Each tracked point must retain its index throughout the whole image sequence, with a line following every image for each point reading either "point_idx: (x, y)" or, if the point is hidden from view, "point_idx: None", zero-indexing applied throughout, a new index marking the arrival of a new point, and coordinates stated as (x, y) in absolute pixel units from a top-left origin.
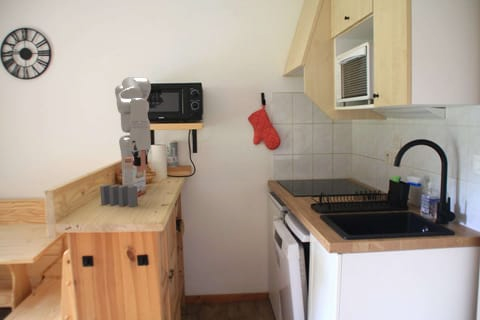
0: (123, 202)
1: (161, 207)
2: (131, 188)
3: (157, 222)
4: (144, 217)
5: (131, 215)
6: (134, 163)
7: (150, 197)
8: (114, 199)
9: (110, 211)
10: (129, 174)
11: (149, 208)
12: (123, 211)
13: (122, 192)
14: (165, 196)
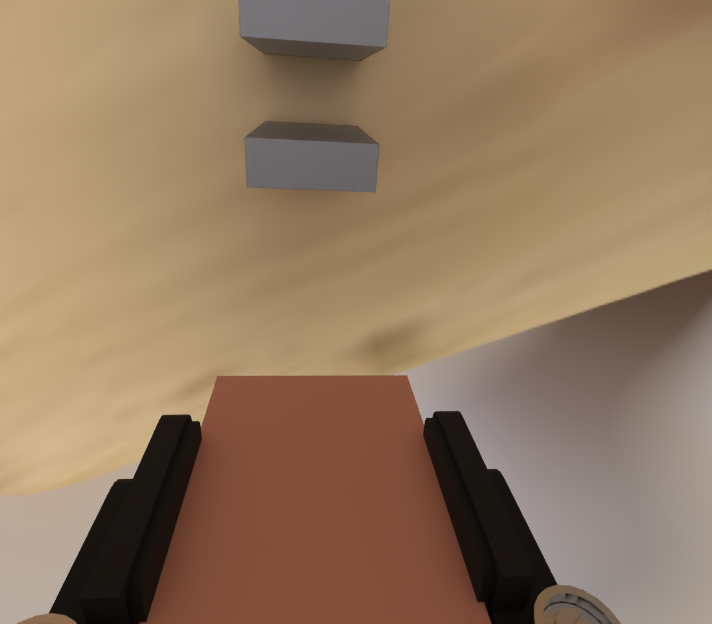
0: (278, 52)
1: (317, 362)
2: (256, 186)
3: (6, 489)
4: (54, 388)
5: (52, 292)
6: (150, 452)
7: (645, 115)
8: None
9: (70, 50)
10: None
11: (270, 305)
12: (120, 169)
13: (260, 43)
14: (674, 225)
